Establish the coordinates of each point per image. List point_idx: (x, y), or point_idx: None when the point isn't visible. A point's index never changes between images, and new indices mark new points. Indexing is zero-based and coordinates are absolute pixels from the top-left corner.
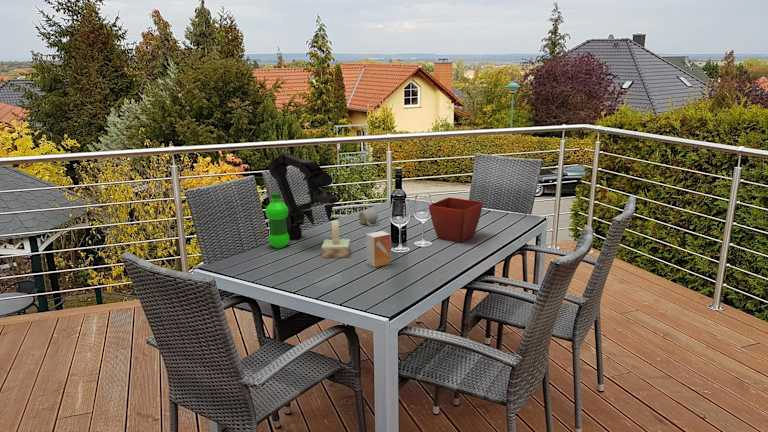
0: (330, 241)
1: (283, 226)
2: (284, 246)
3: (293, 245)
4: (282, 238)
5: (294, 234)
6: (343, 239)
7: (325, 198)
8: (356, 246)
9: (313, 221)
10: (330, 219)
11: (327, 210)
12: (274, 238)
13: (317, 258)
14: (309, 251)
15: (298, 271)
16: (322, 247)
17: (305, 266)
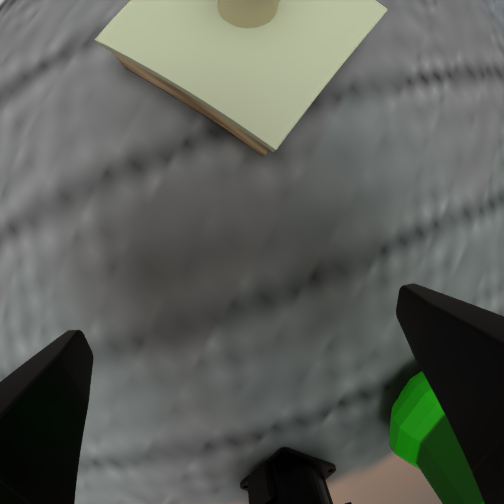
0: (262, 65)
1: None
2: (413, 377)
3: (371, 375)
4: None
5: (307, 476)
6: (137, 52)
7: None
8: (61, 104)
9: (431, 296)
10: (69, 331)
11: (35, 483)
12: None
13: (383, 55)
14: (367, 203)
15: (486, 14)
16: (382, 6)
17: (459, 25)
